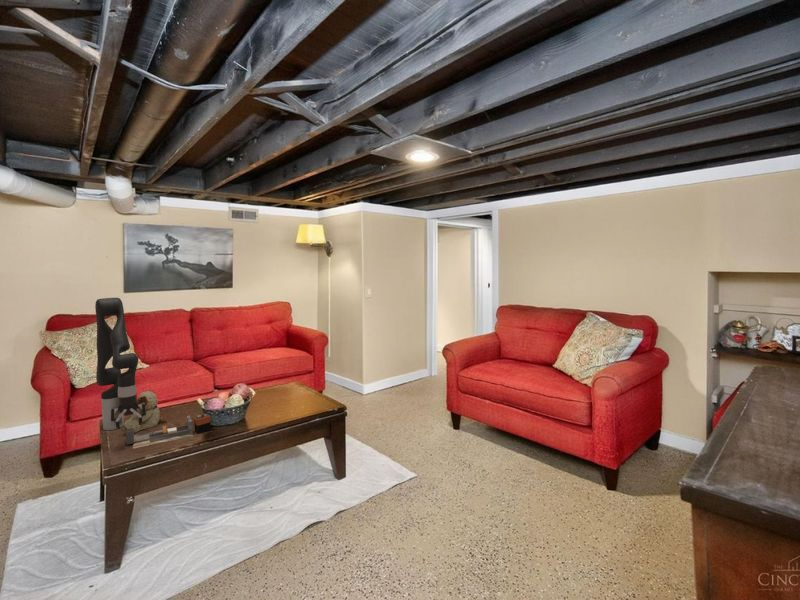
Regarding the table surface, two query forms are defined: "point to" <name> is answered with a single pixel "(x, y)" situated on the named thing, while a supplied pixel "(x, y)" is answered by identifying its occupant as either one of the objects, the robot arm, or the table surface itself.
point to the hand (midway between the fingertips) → (129, 426)
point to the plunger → (142, 435)
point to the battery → (202, 423)
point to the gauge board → (167, 435)
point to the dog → (151, 413)
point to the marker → (171, 430)
